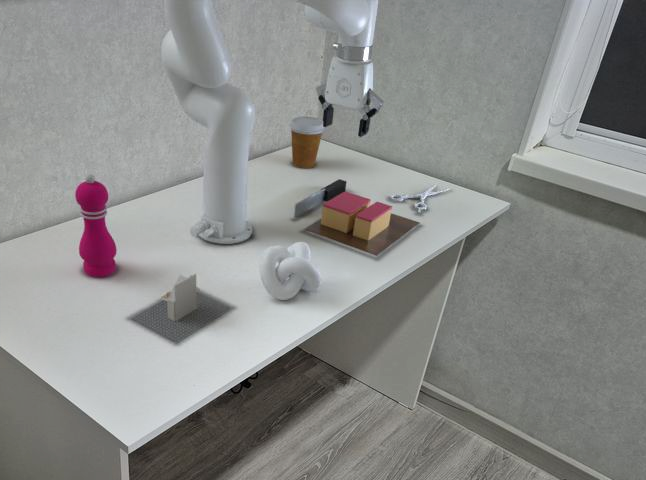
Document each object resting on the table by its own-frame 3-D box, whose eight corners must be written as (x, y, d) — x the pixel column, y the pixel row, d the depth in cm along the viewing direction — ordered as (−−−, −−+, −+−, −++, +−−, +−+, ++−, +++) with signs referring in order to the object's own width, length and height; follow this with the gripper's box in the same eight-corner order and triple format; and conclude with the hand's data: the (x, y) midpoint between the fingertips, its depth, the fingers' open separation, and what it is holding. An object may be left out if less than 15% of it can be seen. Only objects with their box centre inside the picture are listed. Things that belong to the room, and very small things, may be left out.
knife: (297, 221, 152) (299, 205, 150) (290, 218, 153) (291, 202, 151) (344, 193, 167) (346, 179, 165) (337, 191, 168) (339, 176, 166)
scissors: (384, 198, 164) (428, 178, 176) (384, 201, 164) (427, 181, 176) (419, 212, 158) (462, 191, 170) (419, 214, 159) (461, 193, 170)
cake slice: (368, 240, 144) (371, 220, 141) (352, 235, 146) (355, 214, 143) (388, 226, 151) (392, 206, 148) (373, 221, 153) (377, 201, 150)
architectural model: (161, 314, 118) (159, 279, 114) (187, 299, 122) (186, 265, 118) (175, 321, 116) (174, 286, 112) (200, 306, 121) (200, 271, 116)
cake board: (376, 259, 139) (377, 255, 139) (303, 232, 148) (303, 229, 147) (419, 225, 154) (420, 222, 153) (350, 203, 162) (351, 200, 162)
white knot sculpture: (276, 313, 120) (280, 271, 115) (245, 283, 128) (246, 242, 123) (326, 299, 125) (331, 258, 120) (292, 271, 133) (296, 231, 128)
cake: (346, 233, 147) (349, 212, 144) (320, 224, 150) (322, 203, 147) (367, 219, 153) (370, 199, 150) (342, 210, 157) (345, 191, 154)
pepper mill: (82, 280, 126) (70, 182, 114) (80, 262, 132) (68, 167, 120) (120, 277, 128) (111, 180, 116) (116, 259, 133) (107, 165, 121)
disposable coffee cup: (282, 159, 185) (285, 116, 177) (313, 157, 187) (317, 115, 180) (293, 171, 177) (297, 127, 170) (325, 169, 180) (330, 126, 173)
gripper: (312, 48, 144) (305, 125, 154) (380, 62, 135) (368, 143, 146) (330, 43, 148) (322, 118, 159) (397, 56, 140) (384, 135, 151)
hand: (344, 130), depth 152 cm, fingers open, 9 cm apart
